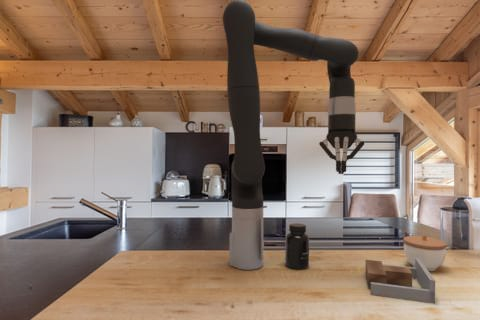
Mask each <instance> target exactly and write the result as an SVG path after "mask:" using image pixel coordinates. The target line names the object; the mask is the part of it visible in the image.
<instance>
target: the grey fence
mask: <svg viewBox="0 0 480 320" xmlns="http://www.w3.org/2000/svg"><path fill="white" fill-rule="evenodd" d="M382 264H383V265H387V266H397V267H407V268H409V269H410V270H411V272H412V279H415V280H416V281H417V283H418V284H419V286H420V288H419V287H413V286H412V287H406V286H398V285H390V284H382V283H374V282H371V290H370V295H373V296H382V297H387V298H395V299H401V300H402V299H403V300H410V301H414V302H415V301H416V302H424V303H431V304H436V280H435V278H434V277H433V275H432V274H431V272H430V271H428V270H427V268H426V267H425V266H424V264H423V263H422V261H421V260H420V259H417V258H415V268H414V267H413V266H402V265H395V264H394V265H393V264H385V263H382Z"/></svg>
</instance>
